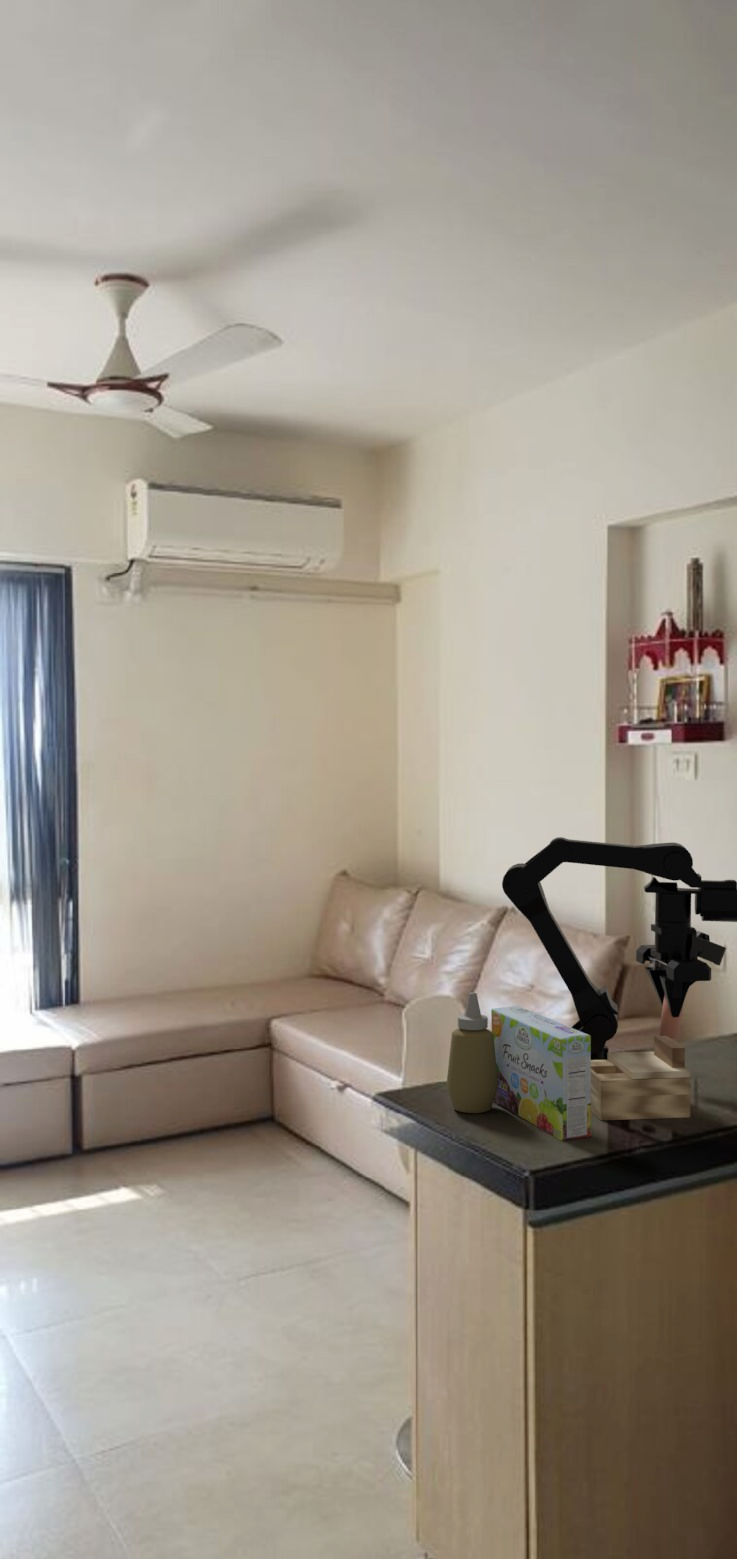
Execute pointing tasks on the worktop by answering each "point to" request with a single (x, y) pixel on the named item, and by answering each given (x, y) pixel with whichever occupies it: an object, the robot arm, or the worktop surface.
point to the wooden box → (636, 1095)
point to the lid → (653, 1061)
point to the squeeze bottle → (472, 1062)
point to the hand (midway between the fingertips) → (671, 1014)
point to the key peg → (669, 1022)
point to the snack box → (543, 1071)
